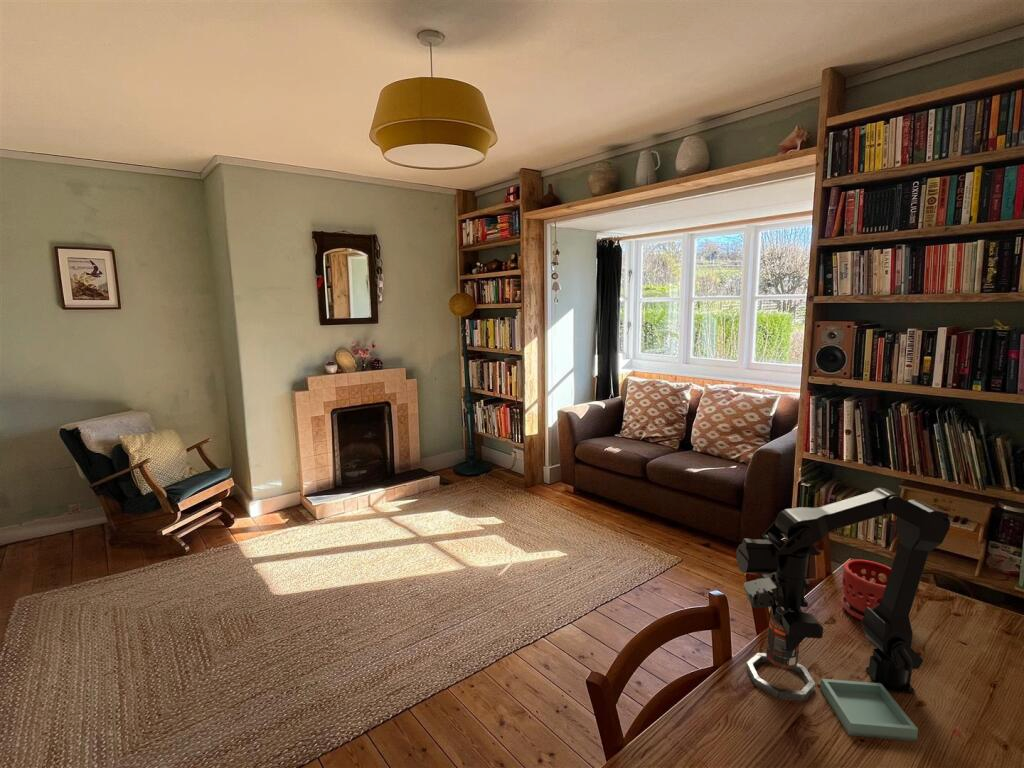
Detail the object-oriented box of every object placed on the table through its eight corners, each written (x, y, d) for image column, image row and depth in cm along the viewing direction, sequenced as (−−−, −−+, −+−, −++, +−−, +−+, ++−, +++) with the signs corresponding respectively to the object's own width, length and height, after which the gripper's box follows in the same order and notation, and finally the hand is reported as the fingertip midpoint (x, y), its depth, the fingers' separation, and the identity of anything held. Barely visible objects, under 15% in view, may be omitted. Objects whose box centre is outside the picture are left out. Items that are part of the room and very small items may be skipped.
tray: (879, 694, 108) (881, 683, 108) (916, 741, 97) (918, 729, 96) (820, 689, 109) (821, 678, 109) (849, 735, 98) (850, 723, 97)
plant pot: (837, 618, 134) (842, 574, 132) (840, 594, 144) (845, 553, 142) (900, 637, 126) (907, 591, 124) (899, 611, 137) (905, 568, 135)
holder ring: (797, 661, 117) (797, 655, 117) (822, 702, 106) (823, 696, 105) (741, 657, 119) (741, 651, 118) (760, 697, 107) (760, 690, 106)
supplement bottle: (801, 672, 108) (807, 621, 106) (770, 668, 109) (775, 618, 107) (792, 653, 114) (797, 605, 112) (762, 649, 115) (767, 601, 113)
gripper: (735, 548, 118) (730, 612, 121) (766, 594, 100) (759, 668, 102) (787, 551, 117) (781, 615, 119) (828, 598, 98) (819, 673, 101)
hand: (783, 640), depth 111 cm, fingers closed on supplement bottle, 6 cm apart
